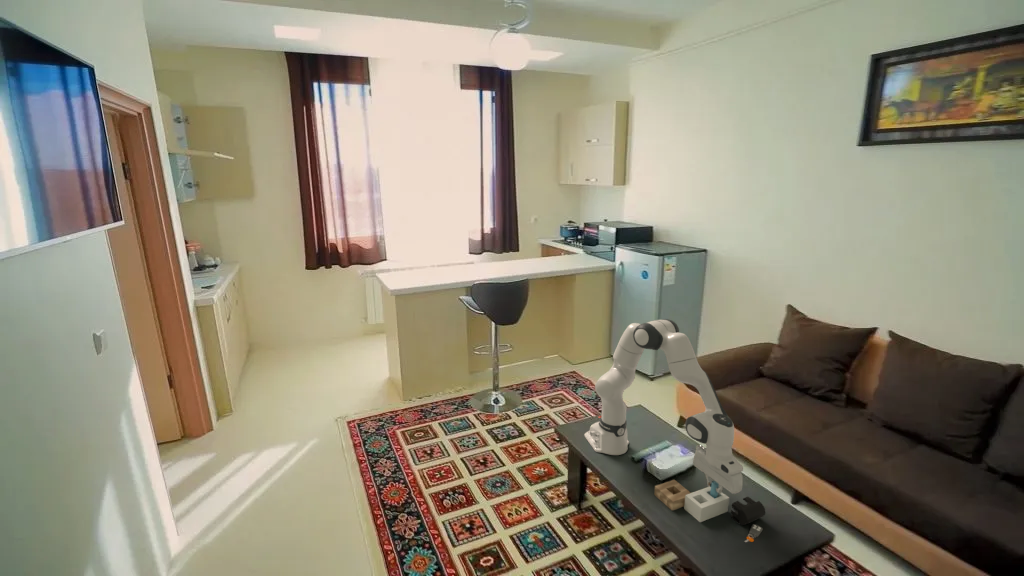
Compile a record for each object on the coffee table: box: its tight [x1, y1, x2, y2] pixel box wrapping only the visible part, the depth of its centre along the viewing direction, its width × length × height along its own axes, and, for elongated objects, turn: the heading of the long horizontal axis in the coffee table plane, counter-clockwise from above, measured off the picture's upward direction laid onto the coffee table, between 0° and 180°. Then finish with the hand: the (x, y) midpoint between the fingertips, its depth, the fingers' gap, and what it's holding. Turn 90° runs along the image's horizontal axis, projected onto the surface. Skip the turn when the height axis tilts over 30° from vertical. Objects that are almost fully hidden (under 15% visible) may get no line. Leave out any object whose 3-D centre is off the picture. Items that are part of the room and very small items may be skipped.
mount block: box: [653, 479, 691, 511], centre depth 182 cm, size 10×10×4 cm
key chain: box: [743, 523, 764, 543], centre depth 163 cm, size 13×4×2 cm, turn 136°
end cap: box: [730, 496, 766, 526], centre depth 171 cm, size 10×7×7 cm
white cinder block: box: [683, 486, 730, 523], centre depth 176 cm, size 8×14×6 cm, turn 114°
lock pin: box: [710, 480, 720, 499], centre depth 176 cm, size 2×2×10 cm
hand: (714, 489), depth 176 cm, fingers open, 3 cm apart
